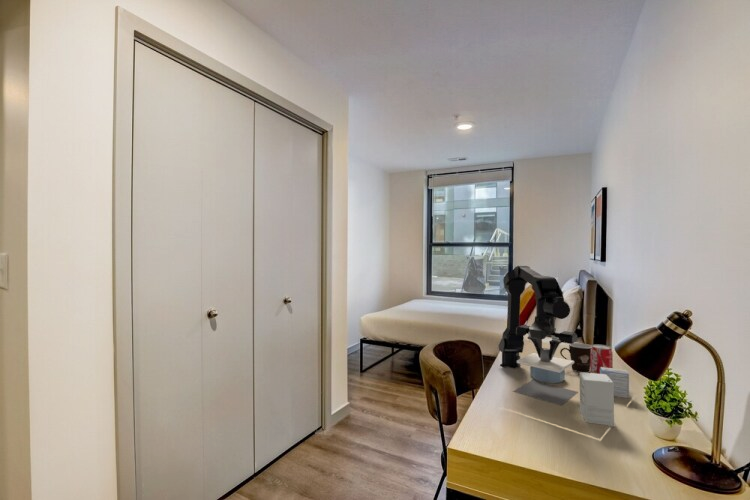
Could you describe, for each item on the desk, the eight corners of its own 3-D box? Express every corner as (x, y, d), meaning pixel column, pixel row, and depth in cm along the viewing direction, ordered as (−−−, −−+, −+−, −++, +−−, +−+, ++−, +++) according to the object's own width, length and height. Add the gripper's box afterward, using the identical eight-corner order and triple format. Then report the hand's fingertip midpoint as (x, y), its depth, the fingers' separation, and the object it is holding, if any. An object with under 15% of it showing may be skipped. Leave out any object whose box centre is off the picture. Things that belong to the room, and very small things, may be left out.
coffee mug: (593, 368, 152) (593, 344, 152) (592, 374, 144) (592, 349, 144) (562, 364, 158) (561, 341, 158) (559, 369, 151) (559, 345, 151)
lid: (516, 362, 126) (516, 349, 126) (533, 354, 135) (533, 342, 135) (559, 372, 115) (559, 357, 116) (574, 363, 125) (574, 349, 125)
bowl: (526, 379, 139) (526, 364, 140) (538, 372, 147) (538, 359, 147) (557, 386, 132) (557, 371, 132) (567, 379, 139) (567, 365, 139)
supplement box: (607, 416, 108) (607, 373, 108) (614, 427, 101) (614, 382, 101) (579, 412, 110) (579, 371, 110) (584, 423, 103) (584, 379, 103)
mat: (512, 393, 126) (512, 391, 126) (531, 381, 137) (531, 380, 137) (561, 407, 114) (561, 405, 114) (578, 393, 125) (578, 391, 125)
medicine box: (626, 394, 124) (626, 369, 124) (629, 399, 120) (629, 373, 120) (599, 391, 127) (599, 366, 127) (601, 395, 123) (601, 370, 123)
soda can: (606, 377, 141) (606, 344, 141) (616, 384, 134) (616, 349, 134) (586, 377, 142) (586, 343, 142) (596, 383, 134) (596, 348, 134)
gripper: (508, 313, 127) (508, 357, 126) (566, 320, 113) (566, 370, 113) (522, 309, 134) (522, 351, 134) (577, 315, 121) (578, 362, 121)
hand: (545, 358), depth 125 cm, fingers closed on lid, 3 cm apart
